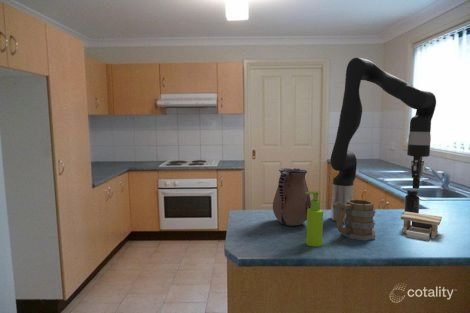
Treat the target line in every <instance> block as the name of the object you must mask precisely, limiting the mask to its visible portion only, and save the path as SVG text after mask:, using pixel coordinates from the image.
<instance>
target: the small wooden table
mask: <svg viewBox="0 0 470 313" xmlns="http://www.w3.org/2000/svg"><path fill="white" fill-rule="evenodd" d="M400 220H403V227H402V228H403V229H402V232H403V233H405V234H406V230H408V229H409V227H410V225H412V226H413V227H419V228H426V229H430V228H431V234H430V238H431V237H432V239H435V238H436V236H437V233H438V229H439V228H438V227H439V226H440V224H441V222H442V220H443V216H439V215H432V214H426V213H425V214H424V213H420V212H419V213H412V212H404V213H403V214H402V215H401V216H400Z"/></svg>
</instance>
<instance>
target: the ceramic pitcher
mask: <svg viewBox="0 0 470 313" xmlns="http://www.w3.org/2000/svg"><path fill="white" fill-rule="evenodd" d="M278 171H279V172H280V175H279V178H278V184H277V185H278V186H277V189H276V192H275V194H274V198H273V202H272V211H273V214H274V217H275V218H276V219H277V221H278V222H279V223H280V224H282V225H286V226H291V227H293V226H295V227H296V226H299V225H303V224H304V223H305V222H307V209H309V208H311V194H308V195H307V194H305V192H310V191H309V187H308V184H307V181H306V180H307V179H306V175H307V173H308V170H305V169H301V168H293V169H292V168H287V167H285V168H279V169H278Z"/></svg>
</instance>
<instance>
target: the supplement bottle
mask: <svg viewBox="0 0 470 313" xmlns="http://www.w3.org/2000/svg"><path fill="white" fill-rule="evenodd" d="M418 192H419V191H418V190H417V189H416V190H415V189H407V190H406V195H405V196H404V211H405V212H412V213H419V214H420V196H419V195H418Z"/></svg>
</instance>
